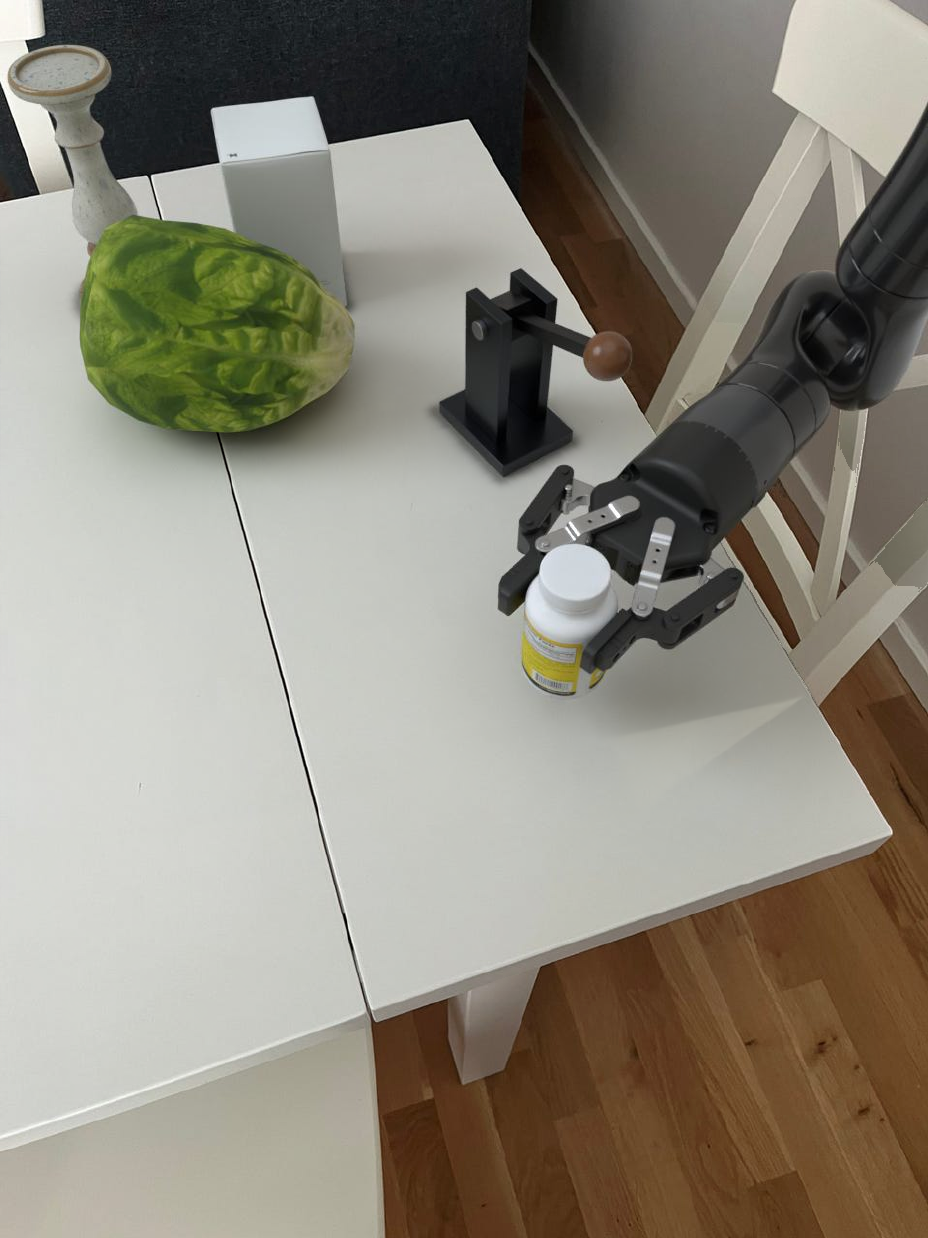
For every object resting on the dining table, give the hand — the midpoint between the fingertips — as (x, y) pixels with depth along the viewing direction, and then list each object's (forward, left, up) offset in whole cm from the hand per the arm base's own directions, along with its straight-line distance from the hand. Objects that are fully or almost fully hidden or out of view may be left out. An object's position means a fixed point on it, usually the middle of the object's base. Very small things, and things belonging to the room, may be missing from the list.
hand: (544, 633), depth 56 cm
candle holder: (+53, -20, -11) cm, 58 cm away
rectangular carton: (+41, -29, -11) cm, 52 cm away
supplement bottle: (0, -3, -7) cm, 7 cm away
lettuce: (+36, -14, -11) cm, 41 cm away
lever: (+10, -21, 0) cm, 23 cm away
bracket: (+15, -23, -11) cm, 30 cm away
